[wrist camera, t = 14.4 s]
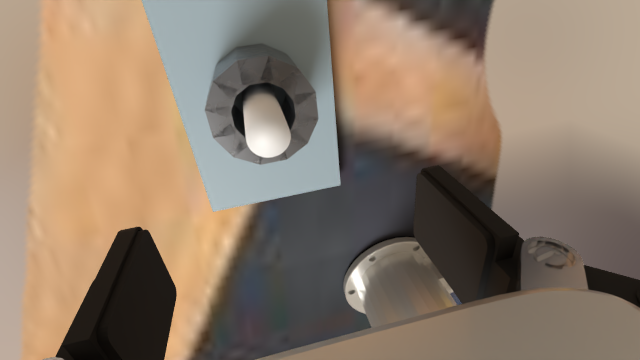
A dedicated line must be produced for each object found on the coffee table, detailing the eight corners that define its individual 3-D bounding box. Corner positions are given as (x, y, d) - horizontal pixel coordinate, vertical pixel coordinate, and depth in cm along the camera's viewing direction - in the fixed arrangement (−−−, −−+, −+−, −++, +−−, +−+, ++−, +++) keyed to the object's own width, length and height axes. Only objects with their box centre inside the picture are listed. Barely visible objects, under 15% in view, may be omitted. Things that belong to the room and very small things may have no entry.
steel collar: (297, 38, 24) (311, 49, 20) (308, 127, 28) (322, 152, 23) (198, 52, 23) (191, 66, 19) (224, 142, 26) (223, 172, 22)
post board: (315, -76, 22) (372, -117, 13) (336, 177, 32) (375, 248, 24) (127, -59, 20) (47, -93, 11) (213, 202, 31) (206, 289, 22)
